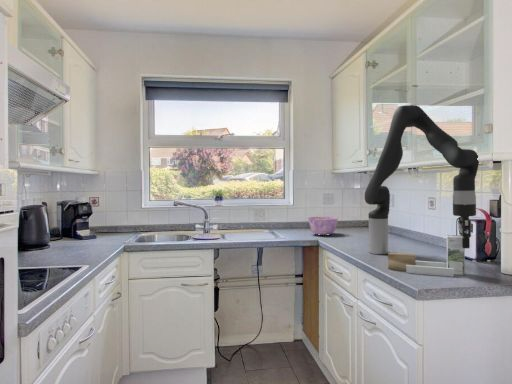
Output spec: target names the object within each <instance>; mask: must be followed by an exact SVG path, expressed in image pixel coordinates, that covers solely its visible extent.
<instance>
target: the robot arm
mask: <svg viewBox="0 0 512 384" xmlns="http://www.w3.org/2000/svg"><path fill="white" fill-rule="evenodd" d="M391 118H392V119H391V122H390V126H389V129H388V134H387V136H386V139H385V143H384V145H383V148H382V151H381V153H380V156H379V157H378V161H377V164H376V167H375V168H374V169H375V170H374V172H373V175H372V176H371V179H370V181H369V182H368V184H367V186H366V189H365V191H364V201H365V203H366V204H368V205H373V206H374V205H376V208H375V209H373V210H371V211H369V212H368V253H369V254H374V255H386V254H387V255H388V253H389V214H390V201H391V200H390V199H391V193H390V189H389V188H388V186H386V185H383V184H384V182H385V181H386V180H387V179H388V178H390V176H391V175H392V174H394V173H395V172H396V171H397V169H398V168H399V166H400V163H401V161H402V159H403V154H404V151H403V145H402V138H403V135H404V132H405V131H406V128H414V127H415V128H416V129H419V130H420V131H421V132H422V133H423V134H424V135H425V137H426V140H427V142H428V144H429V145H430V146H431V147H432V148H434V149H435V150H436V151H437V152H439V153H440V154H441V155H442V157H443V159H444V160H445V161H446V162H447V163H448V164H449V165H450V166H452V167H453V168H456V169H459V171H458V174H457V175H455V176H454V178H453V180H452V181H453V182H452V185H453V187H452V188H453V190H452V191H453V192H452V215H453V216H456V217H458V220H457V225H458V226H457V227H458V228H457V229H458V234H459V235H461V236H462V247H463V248H465V249H470V247H471V246H470V245H471V244H470V240H471V239H470V238H471V237H472V233H471V232H472V221H471V220H470V217H476V216H477V195H476V177H477V172H478V171H479V170H478V168H479V165H480V160H479V161H478V160H477V158H478V157H479V155H477V154H478V153H477V152H476V151H475V150H473V149H465V148H461V147H460V146H459V143H458V141H457V140H456V139H455V138H454V137H452V136H451V135H450V134H448V133H447V132H446V131H444V130H443V129H442V128H440V126H438V125H437V124H436V123H435V122H434V120H432V118H430V116H429V115H428V114H427V113H426V112H425V111H424V110H423V109H422V107H420V106H418V105H416V104H414V105H413V104H407V105H400V106H398V107H397V108H396V109H395V111H394V112H393V115H392V117H391Z"/></svg>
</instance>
